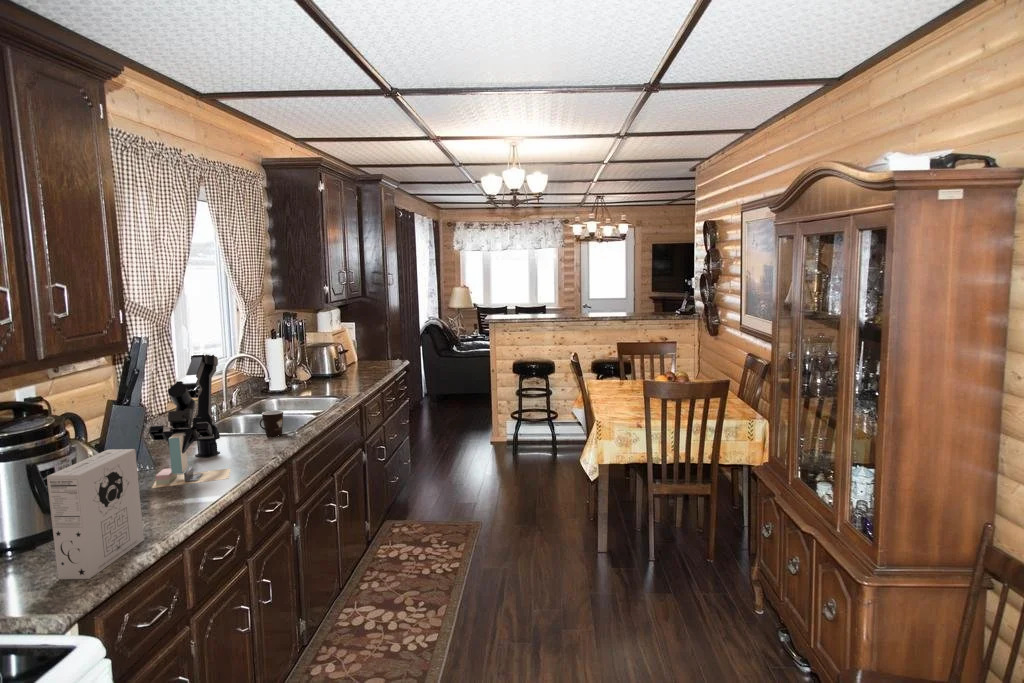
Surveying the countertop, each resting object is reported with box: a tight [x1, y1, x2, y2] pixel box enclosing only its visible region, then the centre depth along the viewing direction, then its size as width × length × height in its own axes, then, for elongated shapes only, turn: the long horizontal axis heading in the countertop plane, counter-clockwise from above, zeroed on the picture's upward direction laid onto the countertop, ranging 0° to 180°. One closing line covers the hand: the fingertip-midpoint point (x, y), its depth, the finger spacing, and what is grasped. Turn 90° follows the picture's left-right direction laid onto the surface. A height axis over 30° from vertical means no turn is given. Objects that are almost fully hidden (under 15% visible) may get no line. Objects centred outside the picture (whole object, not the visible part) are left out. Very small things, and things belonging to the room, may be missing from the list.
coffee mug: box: [259, 409, 284, 438], centre depth 278 cm, size 12×9×10 cm
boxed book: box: [168, 433, 189, 475], centre depth 218 cm, size 6×3×12 cm, turn 11°
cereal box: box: [46, 448, 145, 580], centre depth 160 cm, size 22×8×25 cm, turn 178°
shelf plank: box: [151, 468, 232, 489], centre depth 220 cm, size 23×12×1 cm, turn 110°
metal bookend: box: [183, 466, 203, 482], centre depth 219 cm, size 7×4×3 cm, turn 11°
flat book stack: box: [155, 467, 178, 485], centre depth 218 cm, size 8×4×3 cm, turn 11°
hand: (177, 453), depth 217 cm, fingers closed on boxed book, 3 cm apart
